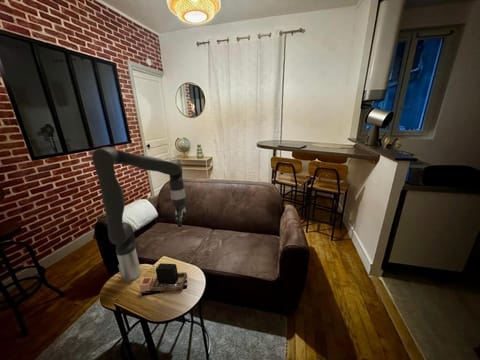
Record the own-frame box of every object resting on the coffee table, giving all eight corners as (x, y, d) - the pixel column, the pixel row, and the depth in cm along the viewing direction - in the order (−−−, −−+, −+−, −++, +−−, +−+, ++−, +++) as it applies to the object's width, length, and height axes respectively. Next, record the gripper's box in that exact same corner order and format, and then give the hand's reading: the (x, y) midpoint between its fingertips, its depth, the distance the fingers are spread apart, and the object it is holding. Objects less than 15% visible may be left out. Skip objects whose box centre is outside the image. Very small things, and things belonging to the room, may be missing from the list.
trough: (151, 292, 102) (150, 288, 101) (159, 276, 112) (158, 273, 111) (181, 291, 101) (181, 287, 101) (187, 276, 111) (186, 272, 111)
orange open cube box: (141, 292, 102) (139, 284, 100) (145, 284, 107) (143, 277, 105) (150, 292, 102) (148, 284, 100) (154, 284, 107) (152, 277, 105)
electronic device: (175, 284, 105) (172, 269, 102) (158, 283, 106) (155, 268, 103) (178, 278, 109) (176, 263, 106) (162, 277, 110) (159, 263, 107)
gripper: (175, 192, 113) (179, 217, 117) (166, 201, 99) (171, 229, 104) (188, 191, 113) (191, 216, 117) (181, 201, 99) (185, 229, 104)
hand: (182, 222), depth 110 cm, fingers open, 8 cm apart
